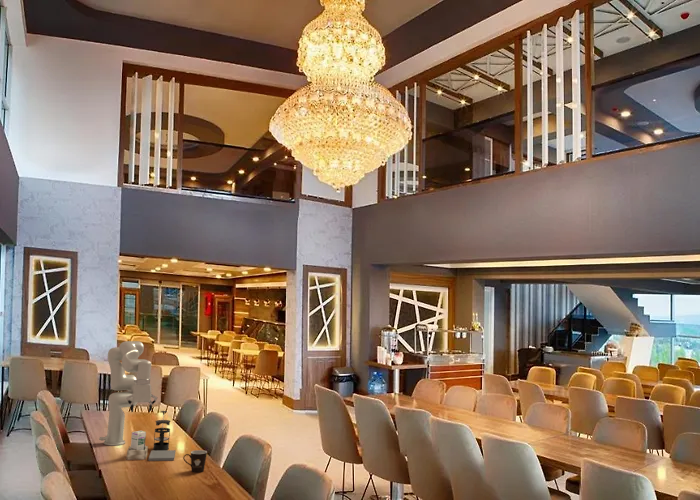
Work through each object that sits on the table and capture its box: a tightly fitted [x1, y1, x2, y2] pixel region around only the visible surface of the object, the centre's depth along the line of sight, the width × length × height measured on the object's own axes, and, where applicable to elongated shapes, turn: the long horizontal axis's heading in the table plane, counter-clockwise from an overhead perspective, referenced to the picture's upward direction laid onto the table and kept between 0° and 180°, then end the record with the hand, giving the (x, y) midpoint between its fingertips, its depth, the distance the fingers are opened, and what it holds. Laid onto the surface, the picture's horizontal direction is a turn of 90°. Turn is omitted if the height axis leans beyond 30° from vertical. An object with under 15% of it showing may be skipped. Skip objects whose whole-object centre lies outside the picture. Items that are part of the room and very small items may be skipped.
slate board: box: [148, 449, 176, 462], centre depth 339 cm, size 14×18×2 cm
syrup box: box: [130, 430, 147, 450], centre depth 336 cm, size 6×6×14 cm
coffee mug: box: [183, 449, 208, 474], centre depth 314 cm, size 12×9×10 cm
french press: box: [152, 410, 171, 451], centre depth 358 cm, size 12×9×23 cm
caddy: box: [126, 445, 149, 461], centre depth 336 cm, size 10×10×5 cm
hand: (140, 411), depth 338 cm, fingers open, 9 cm apart
